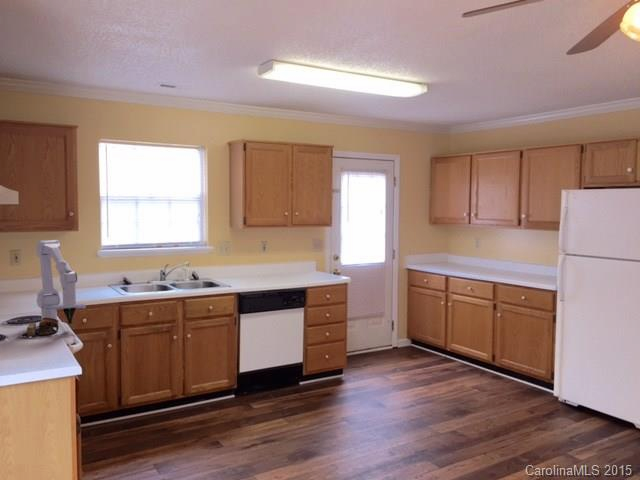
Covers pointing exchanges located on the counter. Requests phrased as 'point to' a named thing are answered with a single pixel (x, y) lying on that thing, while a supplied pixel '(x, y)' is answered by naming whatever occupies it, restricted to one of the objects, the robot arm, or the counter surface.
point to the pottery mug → (47, 325)
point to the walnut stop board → (31, 329)
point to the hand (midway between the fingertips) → (70, 323)
